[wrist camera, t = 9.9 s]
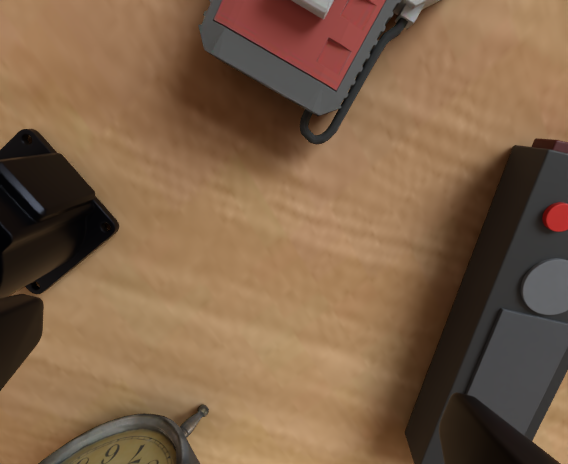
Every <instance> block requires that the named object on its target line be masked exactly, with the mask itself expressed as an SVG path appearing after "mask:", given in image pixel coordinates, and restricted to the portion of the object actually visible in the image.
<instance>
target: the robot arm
mask: <svg viewBox="0 0 568 464" xmlns="http://www.w3.org/2000/svg"><path fill="white" fill-rule="evenodd" d="M28 136H31V138H32V143H29V141H28ZM105 223H108V224H109V225H110V227H111V229H110V230H108V229H107V228H106V227H105ZM118 229H119V224H118V222H117V220H116V219H115V218H114V217H113V215H112V214H111V213H110V212H109V211H108V210H107V209H106V208H105V206H104V205H103V204H102V203H101V202H100V201H99V200H98V199H97V197H96V196H95V192H94V190H93V189H92V188H91V187H90V186H89V185H88V184H87V183H86V181H85V180H84V179H83V178H82V177H81V176H80V175H79V174H78V172H77V171H76V170H75V169H74V168H73V167H72V166H71V164H70V163H69V162H68V161H67V160H66V159H65V158H64V157H63V155H62V154H58V153H57V152H56V151H55V150H54V149H53V148H52V147H51V146H50V144H49V143H48V142H47V141H46V140H45V139H44V138H43V137H42V135H41V134H40V133H39V132H38V131H36V130H34V129H23V130H21V131H19V132H18V133H17V134H16V135H15V136H14V137H13V138H12V139H11V140H10V141H9V142H8V143H7V144H6V145H5V146H4V147H3V148H2V149H1V150H0V391H1V389H2V388H3V387H4V386H5V384H6V383H7V382H8V381H9V379H10V378H11V377H12V375H13V374H14V373H15V372H16V370H17V369H18V368H19V367H20V365H21V364H22V363H23V362H24V360H25V359H26V358H27V357H28V355H29V354H30V353H31V351H32V350H33V349H34V348H35V346H36V345H37V344H38V342H39V340H40V338H41V336H42V331H43V308H44V306H43V301H42V300H41V299H40V298H38V297H34V296H29V295H25V294H19V295H14V296H9V295H11V294H13V293H14V292H16V291H18V290H20V289H21V288H23V287H26V288H27V289H28V290H29V291H30V292H32V293H34V294H40V293H42V292H44V291H46V290H47V289H48V288H49V287H51V286H52V285H53V284H54V283H56V282H57V281H58V280H59V279H60V278H62V277H63V276H64V275H65V274H66V273H68V272H69V271H70V270H71V269H73V268H74V267H75V266H76V265H77V264H79V263H80V262H81V261H82V260H84V259H85V258H86V257H87V256H88V255H90V254H91V253H92V252H93V251H94V250H96V249H97V248H98V247H99V246H101V245H102V244H103V243H104V242H105V241H107V240H108V239H109V238H110V237H111V236H113V235H114V234H115V233H116V232H117V231H118ZM36 282H38V283H39V285H40V287H39V286H37V284H36ZM8 296H9V297H8ZM439 436H440V442H441V447H442V452H443V457H444V462H445V464H560V463H559V462H558V461H556V460H555V459H554V458H552V457H551V456H550V455H549V454H547V453H546V452H545V451H543V450H542V449H541V448H540V447H538V446H537V445H536V444H534V443H533V442H532V441H531V440H529V439H528V438H527V437H526V436H524V435H523V434H522V433H520V432H519V431H518V430H517V429H515V428H514V427H513V426H511V425H510V424H509V423H508V422H506V421H505V420H504V419H502V418H501V417H500V416H499V415H497V414H496V413H495V412H493V411H492V410H491V409H490V408H488V407H487V406H486V405H485V404H483V403H482V402H481V401H479V400H478V399H477V398H475V397H474V396H471V395H466V394H462V393H454V394H452V395H451V397H450V399H449V401H448V404H447V406H446V409H445V411H444V414H443V416H442V418H441V421H440V425H439Z"/></svg>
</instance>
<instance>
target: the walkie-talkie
mask: <svg viewBox="0 0 568 464" xmlns="http://www.w3.org/2000/svg"><path fill="white" fill-rule="evenodd" d="M209 1H210V2H211V3H210V6H209V8H208V10H207V11H205V12H204V14H203V15H204V16H205V17H204V20H203V22H202V24H201V25H199V30H200V34H201V38H202V42H203V46H204V50H205V51H207V52H208V53H210V54H211V55H213V56H214V57H216V58H217V59H219V60H220V61H222V62H224V63H226V64H227V65H229V66H231V67H233V68H234V69H236V70H238V71H240V72H241V73H243V74H245V75H247V76H248V77H250V78H252V79H254V80H256V81H257V82H259V83H261V84H263V85H264V86H266V87H268V88H270V89H271V90H273V91H275V92H277V93H278V94H280V95H282V96H284V97H285V98H287V99H289V100H291V101H292V102H294V103H296V104H298V105H299V106H301V107H303V108H304V109H305V110H304V113H303V115H302V117H301V121H300V131H301V134H302V135H303V136H304V137H305V138H306V139H307V140H308V141H309V142H310V143H313V144H322V143H324V142H326V141H328V140H329V139H330V138H331V137H332V136H333V135H334V134H335V133H336V131H337V130H338V128H339V126H340V124H341V123H342V121H343V119H344V117H345V115H346V114H347V112H348V110H349V108H350V107H351V105H352V103H353V101H354V99H355V98H356V96H357V94H358V92H359V91H360V89H361V87H362V85H363V83H364V82H365V80H366V78H367V76H368V75H369V73H370V71H371V69H372V67H373V66H374V64H375V62H376V61H377V59H378V57H379V56H380V54H381V52H382V51H383V49H384V48H385V46H386V44H387V43H388V42H389V41H391V40H392V39H394V38H395V37H397V36H398V35H399V34H400V33H401V32H402V31H403V29H404V28H406V29H408V28H409V27H410V26H411V25H412V24H413V23H414V22H415V20H416V19H417V17H418V15H419V13H420V12H421V10H422V9H424V8H426V7H428V6H430V5H432V4H434V3H436V2H438V1H440V0H209ZM394 13H395V14H396V15H398V16H397V18H396V19H395V22H396V24H395V26H394V27H392V28H391V29H390V30H388V31H387V32H385V33H384V34H383V35H382V36H381V38H380V39H379V40H377V39H378V38H379V37H380V35H381V34H382V33H383V32H384V30H385V28H386V27H385V25H386V24H387V23H388V21H389V20H390V19H391V18H392V16H393V14H394ZM363 64H364V65H363ZM362 65H363V66H362ZM356 76H357V77H356ZM355 77H356V79H355ZM349 88H350V90H349ZM348 90H349V92H348ZM343 100H344V101H343ZM342 101H343V102H342ZM341 103H342V104H341ZM340 104H341V105H340ZM337 109H339V110H338V111H337V113H336V115H335V117H334V119H333V120H332V122H331V124H330V126H329V127H328V128H327V130H326V131H325V132H323V133H322V134H320V135H314V134H313V133H312V132H311V131H310V130H309V128H308V124H309V120H310V118H311V115H312V113H313V114H315V115H317V116H320V115H323V114H326V113H329V112H332V111H335V110H337Z"/></svg>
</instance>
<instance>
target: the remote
mask: <svg viewBox="0 0 568 464" xmlns="http://www.w3.org/2000/svg"><path fill="white" fill-rule="evenodd" d="M567 370H568V142H563V141H559V140H550V139H535V140H534V143H533V145H532V147H526V146H517V145H515V146H513V149H512V151H511V154H510V156H509V159H508V162H507V164H506V167H505V170H504V172H503V175H502V178H501V180H500V183H499V185H498V188H497V191H496V193H495V196H494V199H493V201H492V204H491V207H490V209H489V212H488V214H487V217H486V220H485V222H484V225H483V228H482V230H481V233H480V236H479V238H478V241H477V243H476V246H475V249H474V251H473V254H472V257H471V259H470V262H469V265H468V267H467V270H466V272H465V275H464V278H463V280H462V283H461V286H460V288H459V291H458V294H457V296H456V299H455V301H454V304H453V307H452V309H451V312H450V315H449V317H448V320H447V322H446V325H445V328H444V330H443V333H442V336H441V338H440V341H439V344H438V346H437V349H436V351H435V354H434V357H433V359H432V362H431V365H430V367H429V370H428V373H427V375H426V378H425V380H424V383H423V386H422V388H421V391H420V394H419V396H418V399H417V402H416V404H415V407H414V409H413V412H412V415H411V417H410V420H409V423H408V425H407V428H406V431H405V435H406V438H407V442H408V445H409V448H410V451H411V455H412V458H413V461H414V464H445V462H444V457H443V452H442V447H441V442H440V436H439V425H440V421H441V418H442V416H443V414H444V411H445V409H446V406H447V404H448V401H449V399H450V397H451V395H452V394H454V393H462V394H466V395H471V396H474V397H475V398H477V399H478V400H479V401H481V402H482V403H483V404H485V405H486V406H487V407H488V408H490V409H491V410H492V411H493V412H495V413H496V414H497V415H499V416H500V417H501V418H502V419H504V420H505V421H506V422H508V423H509V424H510V425H511V426H513V427H514V428H515V429H517V430H518V431H519V432H520V433H522V434H523V435H524V436H526V437H527V438H528V439H529V440H531V441H532V440H533V438H534V436H535V434H536V432H537V430H538V428H539V426H540V424H541V422H542V420H543V418H544V416H545V414H546V412H547V410H548V408H549V406H550V404H551V402H552V400H553V398H554V396H555V394H556V392H557V390H558V388H559V386H560V384H561V382H562V380H563V378H564V376H565V374H566V372H567Z"/></svg>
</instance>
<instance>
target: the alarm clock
mask: <svg viewBox="0 0 568 464" xmlns="http://www.w3.org/2000/svg"><path fill="white" fill-rule="evenodd" d="M208 411H209V409H208V408H207V407H206V405H201V406H200V407H199V408H198V412H197V413H196V414H194V415H192V416H191V417H190V418H188V419H187V420H186V421H185V422H184V423H183V424H182V425H181V426H180V427H179V426H178V425H177V424H176V423H175V422H174V421H172V420H171V419H169V418H166V417H164V416H160V415H155V414H135V415H130V416H125V417H121V418H118V419H115V420H112V421H109V422H106V423H104V424H101V425H99V426H97V427H95V428H92V429H91V430H89V431H87V432H85V433H83V434H82V435H80V436H78V437H76V438H74V439H72V440H71V441H69V442H68V443H67V444H65V445H63V446H62V447H61V448H59V449H58V450H56V451H55V452H53V453H52V454H51V455H49V456H48V457H46V458H45V459H44V460H42V461H41V462H40V463H39V464H200V463H199V461H198V459H197V457H196V455H195V454H194V452H193V450H192V448H191V446H190V444H189V443H188V441H187V439H186V438H187V437H188V436H189V435H190V434H191V432H192V431H193V430H194V428H195V427H196V425H197V424H198V422H199V420H200V419H201V418H202V417H205V416H206V415H207V414H208Z"/></svg>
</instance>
